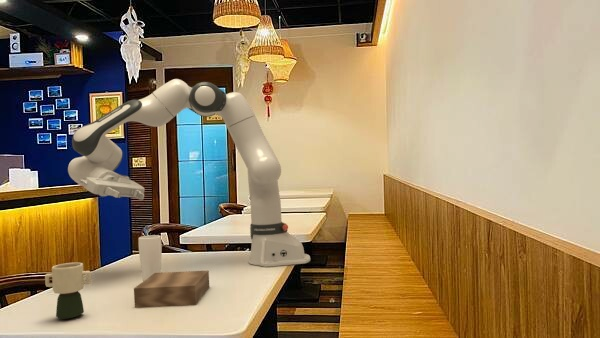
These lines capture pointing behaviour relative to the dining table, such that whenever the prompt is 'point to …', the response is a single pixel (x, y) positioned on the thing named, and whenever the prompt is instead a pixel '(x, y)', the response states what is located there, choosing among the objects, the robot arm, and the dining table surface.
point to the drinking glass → (150, 255)
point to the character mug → (68, 288)
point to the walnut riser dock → (172, 289)
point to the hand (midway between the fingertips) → (131, 196)
